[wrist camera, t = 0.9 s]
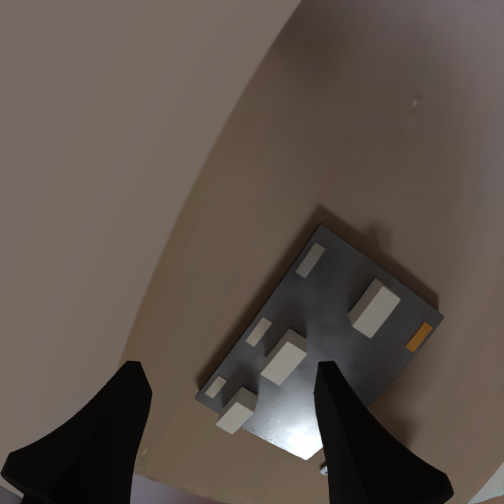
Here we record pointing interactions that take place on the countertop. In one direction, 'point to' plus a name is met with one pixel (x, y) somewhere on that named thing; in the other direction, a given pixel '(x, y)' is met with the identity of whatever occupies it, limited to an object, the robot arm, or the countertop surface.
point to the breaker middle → (284, 357)
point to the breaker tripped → (373, 308)
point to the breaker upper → (237, 410)
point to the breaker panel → (319, 341)
